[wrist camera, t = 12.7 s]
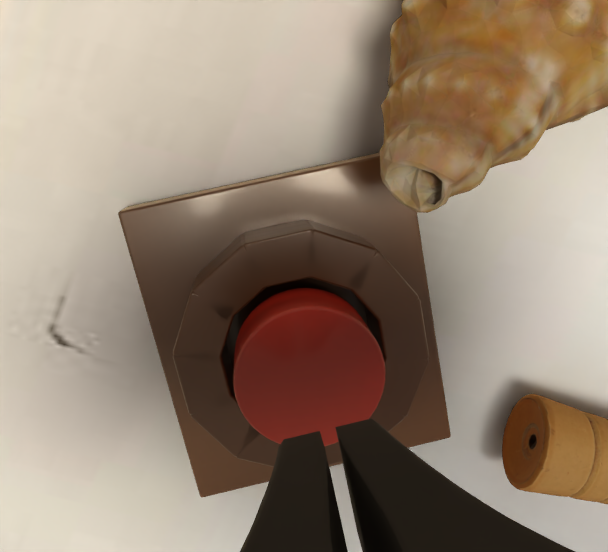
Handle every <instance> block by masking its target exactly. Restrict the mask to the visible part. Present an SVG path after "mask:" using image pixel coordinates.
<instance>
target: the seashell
mask: <svg viewBox="0 0 608 552" xmlns="http://www.w3.org/2000/svg"><path fill="white" fill-rule="evenodd" d="M401 6H402V15H401V16H400V17H399V18H398V19H397V20H396V21H395V22H394V23H393V24H392V28H391V32H390V40H391V57H390V69H389V77H388V85H389V88H390V89H389V92H388V94H387V97H386V98H385V100H384V102H383V103H382V105H381V108H382V113H383V120H384V144H383V146H382V147H381V149H380V169H381V173H380V174H381V178H382V182H383V183H384V184H385V186H386V187H387V188H388V189H389V191H390V192H391V193H392V194H393V196H394V197H395V198H396V199H397V200H398V202H400V203H402V204H403V205H405V206H407V207H408V208H410V209H412V210H413V211H415V212H426V213H428V212H430V211H432V210H435V209H437V208H439V207H441V206H442V205H444V204H445V203H446V202H447V200H448V198H449V197H451V196H454V195H457V194H460V193H464V192H467V191H470V190H472V189H473V188H475V187H477V186H478V185H480V184H481V182H482V181H483V179H484V178H485V176H486V174H487V172H488V170H489V169H490V168H492V167H494V166H497V165H500V164H504V163H508V162H512V161H517V160H521V159H522V158H524V157H525V156H527V155H528V153H529V152H530V150H532V149H533V148H534V147H535V145H536V144H537V142H538V141H539V139H540V138H541V136H542V135H543V133H544V131H545V130H548V129H550V128H553V127H556V126H559V125H562V124H565V123H568V122H574V121H577V120H580V119H581V118H583V117H584V116H586V115H587V114H590V113H592V112H595V111H597V110H600V109H602V108H605V107H607V106H608V0H404V1H403V3H402V5H401Z"/></svg>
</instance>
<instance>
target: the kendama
mask: <svg viewBox="0 0 608 552" xmlns="http://www.w3.org/2000/svg"><path fill="white" fill-rule="evenodd" d="M502 457H503V464H504V469H505V473H506V475H507V478H508V480H509V482H510V483H511V484H512V485H513V486H514V487H515V488H517V489H519V490H523V491H528V492H536V493H542V494H549V495H556V496H565V497H567V496H569V497H572V498H575V499H581V500H586V501H593V502H600V503H604V504H608V419H606V418H603V417H600V416H597V415H594V414H591V413H587V412H583V411H580V410H578V409H576V408H573V407H570V406H568V405H565V404H562V403H559V402H556V401H553V400H551V399H548V398H546V397H543V396H538V395H536V394H528V395H526V396H524V397H522V398H521V399H520V400H519V401H518V402H517V403H516V405H515V406H514V407H513V409H512V411H511V413H510V415H509V417H508V420H507V424H506V427H505V430H504V435H503V444H502Z"/></svg>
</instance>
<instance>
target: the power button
mask: <svg viewBox="0 0 608 552" xmlns="http://www.w3.org/2000/svg"><path fill="white" fill-rule="evenodd" d="M233 383H234V392H235V397H236V400H237V403H238V406H239V408H240V410H241V412H242V414H243V415H244V417H245V418H246V420H247V421H248V422H249V423H250V424H251V425H252V427H253V428H254V429H256V430H257V431H258V432H259V433H260V434H262V435H263V436H265V437H266V438H268V439H270V440H272V441H274V442H276V443H279V444H281V443H282V441H283V440H284V439H287V438H292V437H296V436H300V435H304V434H308V433H313V432H317V431H320V433H321V437H322V440H323V443H324V446H327V445H331V444H334V443H336V442H338V437H337V432H336V428H335V427H338V426H342V425H346V424H350V423H354V422H359V421H363V420H367V419H369V418H370V417H371V415H372V414H373V412H374V411H375V409H376V408H377V406H378V403H379V401H380V399H381V396H382V393H383V390H384V384H385V362H384V358H383V354H382V351H381V349H380V346H379V344H378V342H377V341H376V339H375V337H374V336H373V334H372V333H371V331H370V330H369V328H368V327H367V325H366V323H365V322H364V320H363V319H362V317H361V316H360V315H359V313H358V312H357V311H356V310H355V308H353V307H352V306H351V305H350V304H349V303H348V302H347V301H345V300H344V299H342V298H341V297H339V296H337V295H335V294H333V293H330V292H328V291H325V290H320V289H314V288H296V289H290V290H286V291H283V292H280V293H278V294H275V295H273V296H271V297H269V298H268V299H266V300H264V301H263V302H262V303H260V304H259V305H258V306H257V307H256V308H255V309H254V310H253V311H252V312H251V313H250V314H249V315H248V317H247V318H246V319H245V321H244V323H243V325H242V326H241V328H240V331H239V333H238V336H237V340H236V344H235V353H234V374H233Z"/></svg>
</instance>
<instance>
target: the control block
mask: <svg viewBox="0 0 608 552" xmlns="http://www.w3.org/2000/svg"><path fill="white" fill-rule="evenodd" d="M380 173H381V169H380V153H375V154H371V155H366V156H361V157H357V158H352V159H347V160H343V161H338V162H333V163H329V164H324V165H319V166H315V167H310V168H305V169H301V170H296V171H291V172H287V173H282V174H277V175H273V176H268V177H263V178H259V179H254V180H249V181H245V182H240V183H235V184H231V185H226V186H221V187H217V188H212V189H207V190H203V191H198V192H193V193H189V194H184V195H179V196H175V197H170V198H165V199H161V200H156V201H151V202H147V203H142V204H137V205H133V206H128V207H126V208H125V209H123V210H121V211H120V212H119V213H118V215H119V218H120V222H121V225H122V229H123V232H124V236H125V239H126V243H127V246H128V249H129V253H130V256H131V260H132V263H133V267H134V270H135V274H136V277H137V280H138V284H139V287H140V291H141V294H142V298H143V301H144V305H145V308H146V311H147V315H148V318H149V322H150V325H151V329H152V332H153V335H154V339H155V342H156V346H157V349H158V353H159V356H160V360H161V363H162V366H163V370H164V373H165V377H166V380H167V384H168V387H169V391H170V394H171V397H172V401H173V404H174V408H175V411H176V415H177V418H178V422H179V425H180V428H181V432H182V435H183V439H184V442H185V446H186V449H187V452H188V456H189V459H190V463H191V466H192V470H193V473H194V477H195V480H196V483H197V487H198V490H199V494H200V496H201V497H206V496H210V495H214V494H218V493H223V492H227V491H231V490H235V489H239V488H243V487H247V486H252V485H256V484H260V483H264V482H268V481H270V478H271V475H272V471H273V468H274V465H275V461H276V457H277V453H278V447H279V446H280V444H279V443H276V442H274V441H272V440H270V439H268V438H266V437H265V436H263V435H262V434H260V433H259V432H258V431H257V430H256V429H254V428H253V427H252V425H251V424H250V423H249V422H248V421H247V420H246V418H245V417H244V415H243V414H242V412H241V410H240V408H239V406H238V403H237V400H236V397H235V392H234V383H233V374H234V353H235V344H236V340H237V336H238V333H239V331H240V328H241V326H242V325H243V323H244V321H245V319H246V318H247V317H248V315H249V314H250V313H251V312H252V311H253V310H254V309H255V308H256V307H257V306H258V305H259V304H260V303H262V302H263V301H264V300H266V299H268V298H269V297H271V296H273V295H275V294H278V293H280V292H283V291H286V290H290V289H296V288H314V289H320V290H325V291H328V292H330V293H333V294H335V295H337V296H339V297H341V298H342V299H344V300H345V301H347V302H348V303H349V304H350V305H351V306H352V307H353V308H355V310H356V311H357V312H358V313H359V315H360V316H361V317H362V319H363V320H364V322H365V323H366V325H367V327H368V328H369V330H370V331H371V333H372V334H373V336H374V337H375V339H376V341H377V342H378V344H379V346H380V349H381V351H382V354H383V358H384V362H385V384H384V390H383V393H382V396H381V399H380V401H379V403H378V406H377V408H376V409H375V411H374V412H373V414H372V415H371V417H370V418H369V419H373V420H374V421H376V422H378V423H379V424H380V425H381V426H382V427H383V428H385V429H386V430H387V431H388V432H389V433H390V434H391V435H392V436H394V437H395V438H396V439H397V440H398V441H399V442H401V443H402V444H403V445H404V446H405V447H407V448H408V447H412V446H417V445H421V444H425V443H429V442H433V441H437V440H441V439H445V438H449V437H450V428H449V421H448V415H447V408H446V402H445V395H444V389H443V382H442V375H441V369H440V362H439V356H438V349H437V343H436V336H435V329H434V323H433V316H432V310H431V303H430V297H429V290H428V283H427V277H426V270H425V264H424V257H423V251H422V244H421V237H420V231H419V224H418V218H417V212H415V211H413V210H412V209H410V208H408V207H407V206H405V205H403V204H402V203H400V202H398V200H397V199H396V198H395V197H394V196H393V194H392V193H391V192H390V191H389V189H388V188H387V187H386V186H385V184H384V183H383V182H382V178H381V174H380ZM324 447H325V451H326V455H327V460H328V464H329V467H330V466H334V465H338V464H342V463H343V461H342V456H341V451H340V447H339V442H336V443H334V444H331V445H327V446H324Z"/></svg>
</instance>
